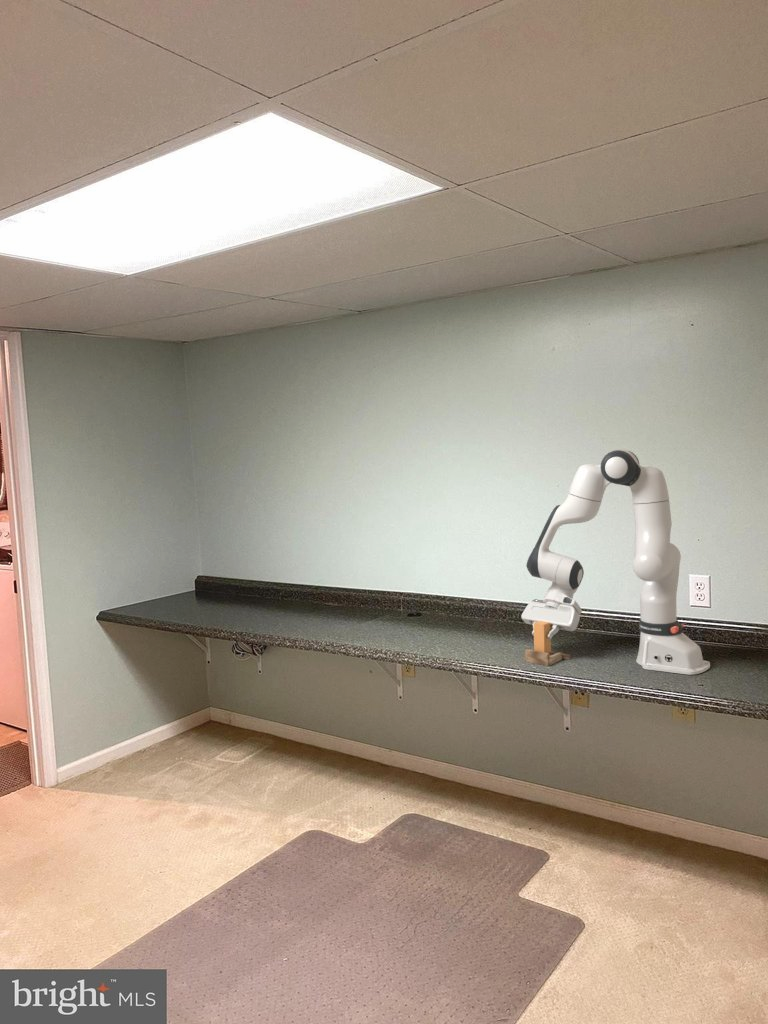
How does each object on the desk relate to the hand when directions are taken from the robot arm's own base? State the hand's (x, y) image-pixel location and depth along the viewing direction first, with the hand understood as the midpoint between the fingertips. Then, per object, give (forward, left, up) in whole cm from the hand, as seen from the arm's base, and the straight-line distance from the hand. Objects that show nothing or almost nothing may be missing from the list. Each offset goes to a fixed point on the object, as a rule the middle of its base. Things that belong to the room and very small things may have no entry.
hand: (541, 636), depth 260 cm
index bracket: (0, -1, -8) cm, 8 cm away
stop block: (0, -1, -5) cm, 5 cm away
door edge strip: (0, -7, -8) cm, 11 cm away
